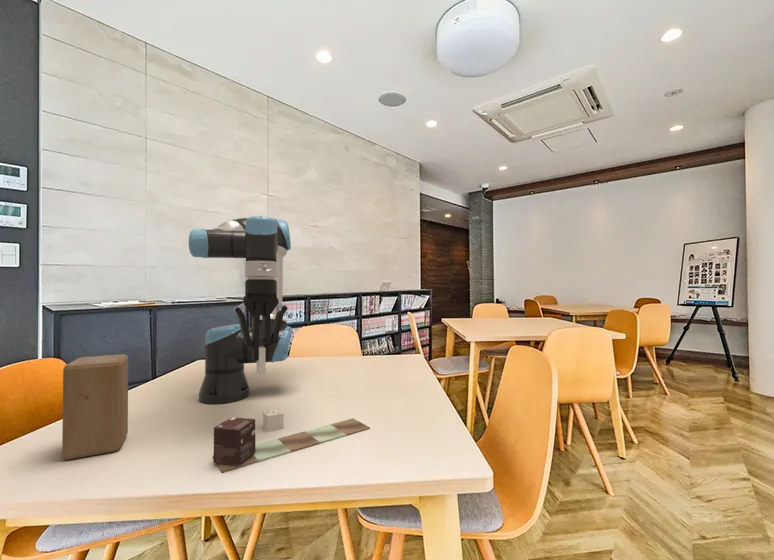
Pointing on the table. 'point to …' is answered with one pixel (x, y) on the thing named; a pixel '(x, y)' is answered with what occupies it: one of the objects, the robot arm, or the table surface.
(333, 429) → the track
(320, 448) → the table surface
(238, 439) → the box
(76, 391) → the wooden block
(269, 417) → the die
